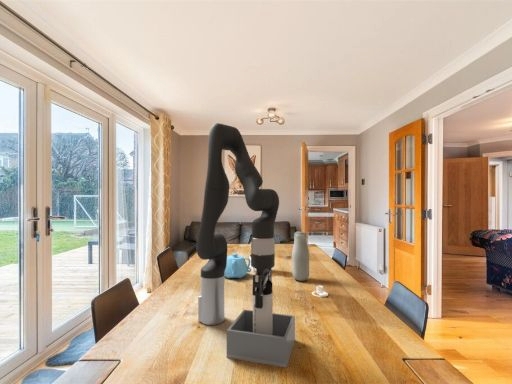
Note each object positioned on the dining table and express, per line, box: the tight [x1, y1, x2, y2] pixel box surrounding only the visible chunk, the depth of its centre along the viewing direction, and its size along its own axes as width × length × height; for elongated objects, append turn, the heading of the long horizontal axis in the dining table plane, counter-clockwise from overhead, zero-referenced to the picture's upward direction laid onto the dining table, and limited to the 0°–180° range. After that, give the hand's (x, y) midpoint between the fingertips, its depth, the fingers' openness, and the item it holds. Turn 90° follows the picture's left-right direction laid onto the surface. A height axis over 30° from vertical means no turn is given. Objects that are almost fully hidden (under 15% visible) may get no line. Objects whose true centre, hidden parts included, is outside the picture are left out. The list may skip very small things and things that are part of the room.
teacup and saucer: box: [311, 285, 329, 298], centre depth 139 cm, size 9×8×4 cm
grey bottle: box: [291, 230, 310, 282], centre depth 162 cm, size 10×10×28 cm
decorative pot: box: [225, 253, 252, 279], centre depth 170 cm, size 16×16×14 cm
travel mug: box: [252, 280, 274, 336], centre depth 89 cm, size 6×7×20 cm
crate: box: [226, 309, 296, 368], centre depth 89 cm, size 18×16×8 cm
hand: (262, 302), depth 89 cm, fingers open, 8 cm apart
